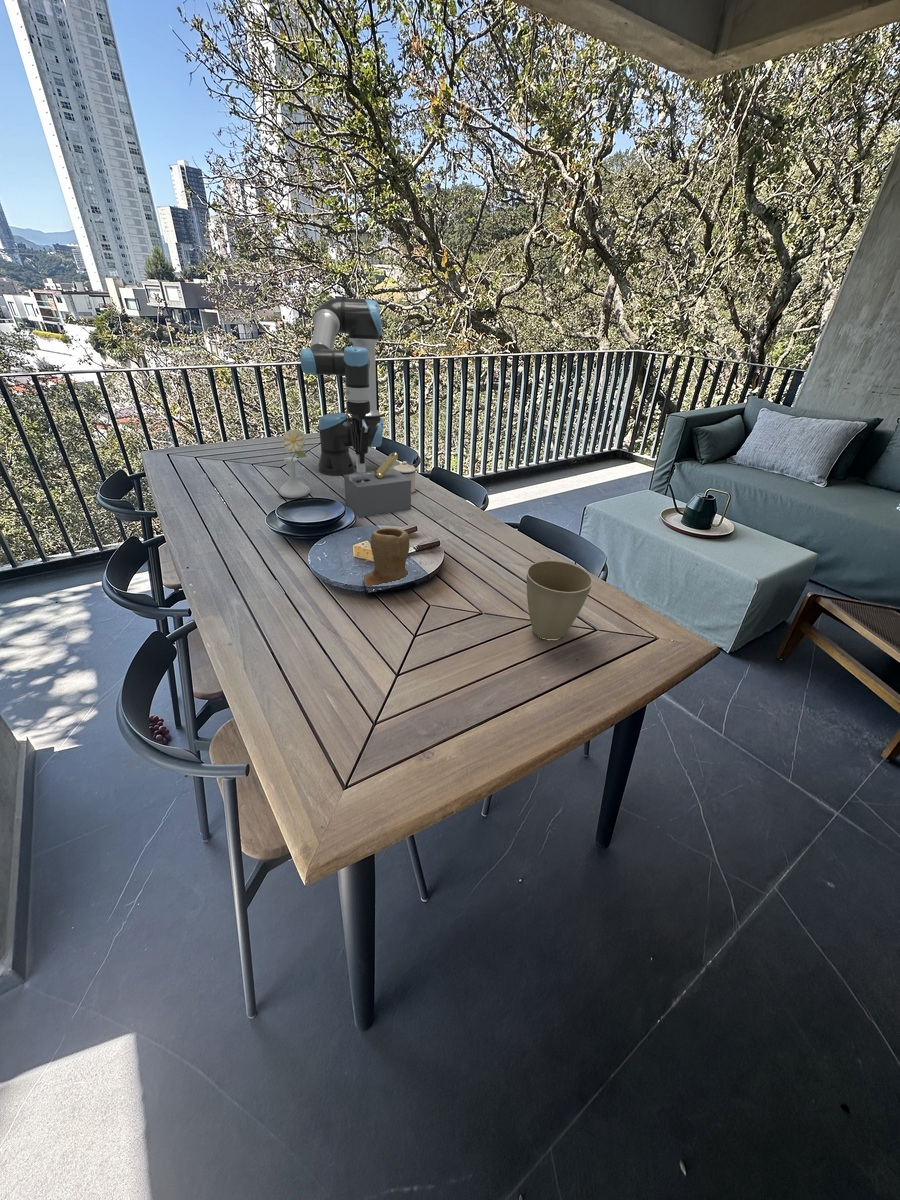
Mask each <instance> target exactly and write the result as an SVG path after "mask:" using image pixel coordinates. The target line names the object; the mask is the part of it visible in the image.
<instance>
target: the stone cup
mask: <svg viewBox="0 0 900 1200" xmlns="http://www.w3.org/2000/svg"><path fill="white" fill-rule="evenodd" d="M370 549H371V552H372V553H371V555H372V558H373V561H374V569H373V570H372V571H370V572H368V573H364V574H365V575H364V579H363V582H364V581H365V583H364V585H365V584H366V586H367V587H369V586H372V585H379V584H382V583H388V582H392V581H396V580H400V579H401V578H404V577H406V575H408V571H407V570H408V569H407V568H406V564H407V563H406V562H407V559H408V556H409V552H410V537H409V533H408V532H407V531H406V530H405V529H404V530H403V529H400V528H397V527H396V528H395V527H384V528H378V529H375V530H373V531H372V533H371V538H370ZM406 569H407V570H406ZM374 592H376V591H368V592H367V593H374Z"/></svg>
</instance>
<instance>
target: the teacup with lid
mask: <svg viewBox="0 0 900 1200" xmlns="http://www.w3.org/2000/svg"><path fill="white" fill-rule="evenodd" d="M392 469H396V470H397V471H398V472H400V473H401V474H403V475H404V476H406V477H407V478H409V479H410V480H411V494H413V493H414V492H415V491H416V472H417V468H416V467H415V466H413V465H410V464H409V463H408V462H407V461H405V460H404V461H402V462H401V463H400V464H398V465H395V466H393V467H392Z"/></svg>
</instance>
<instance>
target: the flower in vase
mask: <svg viewBox="0 0 900 1200" xmlns="http://www.w3.org/2000/svg"><path fill="white" fill-rule="evenodd" d="M281 442H282V445H283V448H284V449H285V450H283V449H282V451H283V452H284V453H286V454H288V455H289V456H291V457H285V458H283V460H282V461H283V462H285V464H286V466H287V469H288V480H287V481H286V482H285V483H283V484H282V485H281V487H279V488H278V494H279V495H280V496H282V497H284V498H288V499H297V498H298V499H299V498H303V497H305V496H308V495H309V493H310V492H311V489H310V488H309V486H308V485H306V484H305V483H304V482H302V481H300V480H299V479H298V478H297V476H296V464H297V462H298V458H307V457H308V455H307V454H306V453H305V452H304V451H303V450H302V449H303V447H304V445H305V443H306V438H305V436H304V433H303V432H302V431H301V430H300V431H299V430H298V429H295V428H292V429H288V431H285V432H284V434H283V436H282V439H281ZM286 450H287V451H286ZM289 451H290V452H293V453H294V454H293V455H292V454H291V453H290V452H289ZM295 455H297V457H298V458H297V457H295Z"/></svg>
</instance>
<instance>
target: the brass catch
mask: <svg viewBox="0 0 900 1200" xmlns="http://www.w3.org/2000/svg"><path fill="white" fill-rule="evenodd" d="M398 456H399V455H398V453H397V452H396V451H393V452H391V453H390V454H389V455H388V456H387V457H386V459H385V460H384V461H383V462H382V463H381V465H379V467H378V469H376V470H375V472H374V475H376V476H377V477H378V478H380V479H382V478H383V476H384V475H385V473H386V472H387V471H388V470H389V469H391V468H392V466H393V465H394V464H395V463H396V461H397V460H398V459H399V457H398Z"/></svg>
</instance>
